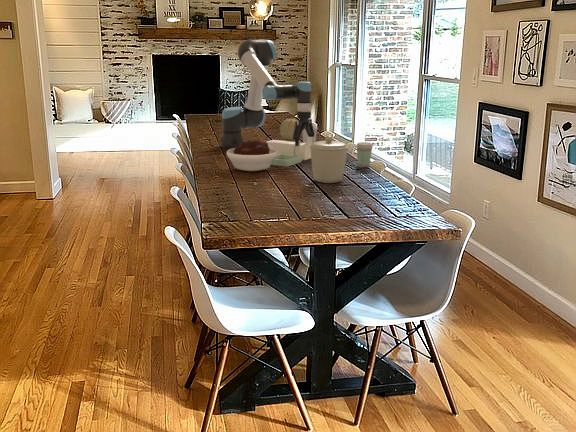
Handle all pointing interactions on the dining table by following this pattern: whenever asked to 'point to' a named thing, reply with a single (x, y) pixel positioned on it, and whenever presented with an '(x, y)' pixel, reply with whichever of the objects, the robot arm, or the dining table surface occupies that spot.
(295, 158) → the stub tray
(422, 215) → the dining table surface
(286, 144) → the ticket bar
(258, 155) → the white serving bowl
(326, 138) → the canister
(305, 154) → the stub
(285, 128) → the cantaloupe
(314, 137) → the coffee cup
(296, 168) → the dining table surface
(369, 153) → the coffee cup
